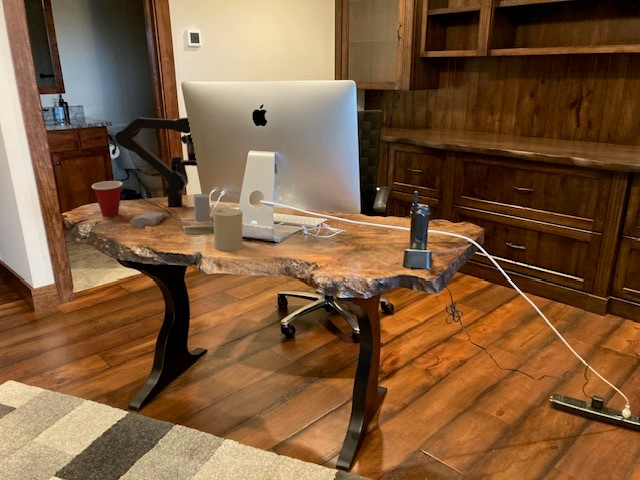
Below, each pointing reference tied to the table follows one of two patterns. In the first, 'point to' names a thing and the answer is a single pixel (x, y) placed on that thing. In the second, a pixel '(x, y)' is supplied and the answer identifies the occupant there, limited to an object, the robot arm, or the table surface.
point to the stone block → (146, 219)
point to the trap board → (198, 226)
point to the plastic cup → (108, 196)
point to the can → (228, 229)
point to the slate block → (201, 207)
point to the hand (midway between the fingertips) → (198, 181)
